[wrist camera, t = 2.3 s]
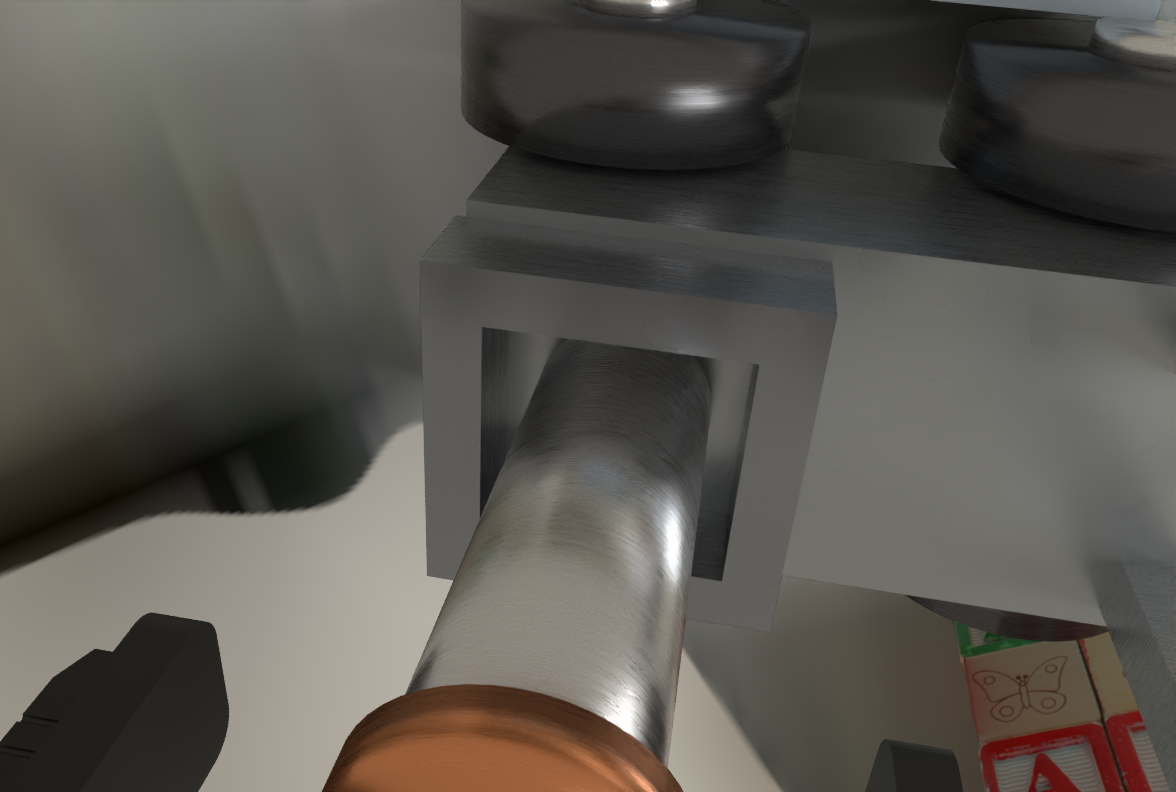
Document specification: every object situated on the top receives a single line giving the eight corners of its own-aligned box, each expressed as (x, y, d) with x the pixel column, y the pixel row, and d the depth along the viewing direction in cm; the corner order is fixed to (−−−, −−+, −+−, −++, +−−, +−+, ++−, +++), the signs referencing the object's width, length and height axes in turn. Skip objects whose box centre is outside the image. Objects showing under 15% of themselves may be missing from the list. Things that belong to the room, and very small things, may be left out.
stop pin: (748, 318, 17) (713, 811, 9) (718, 503, 20) (666, 1048, 11) (521, 287, 18) (282, 731, 9) (515, 472, 20) (315, 973, 11)
